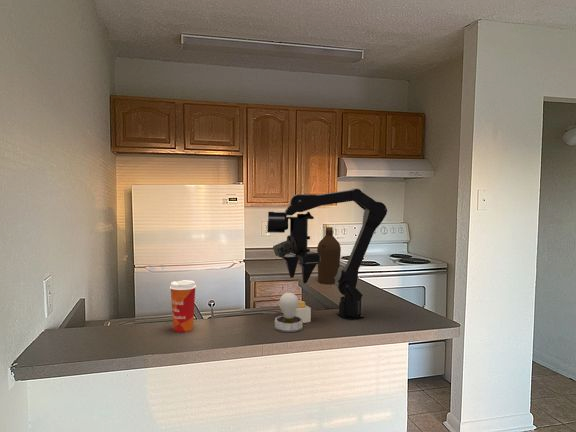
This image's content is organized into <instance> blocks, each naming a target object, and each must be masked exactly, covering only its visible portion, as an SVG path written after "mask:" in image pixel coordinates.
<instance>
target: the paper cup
mask: <svg viewBox="0 0 576 432" xmlns="http://www.w3.org/2000/svg"><path fill="white" fill-rule="evenodd" d="M196 288H197V284H196V282H195V281H194V280H190V279H189V280H188V279H183V280H176V281H175V280H174V281H171V282H170V286H169V289H170V298H171V300H170V301H171V314H172V316H171V317H172V327H173V328H172V329H173V331H174V332H175V333H188V332H190V331H191V332H192V331H193V328H194V318H195V316H194V315H195V303H196V302H195V299H196Z"/></svg>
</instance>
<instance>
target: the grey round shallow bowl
mask: <svg viewBox="0 0 576 432" xmlns="http://www.w3.org/2000/svg"><path fill="white" fill-rule="evenodd" d="M303 324H304V323H303V319H302V318H300V317H298V316H294V320H293V323H285V319H284V315H279V316H277V317H275V318H274V329H275V330H276V331H278V332H281V333H287V334H289V333H291V334H292V333H297V332H300V331H302V330H303V329H304V328H303V326H304V325H303Z"/></svg>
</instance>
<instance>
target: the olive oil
mask: <svg viewBox="0 0 576 432" xmlns="http://www.w3.org/2000/svg"><path fill="white" fill-rule="evenodd" d="M333 229H334V227H332V226H326V227H325V230H324V231H325V235H324V237H322V239H321V240H320V241H318V245H317V249H316V253H319V255H320V256H321V259H320V262H318V264H317V282H318V283H319V284H323V285H335V278H334V277H335V276H336V275H337V272H338V268H339V267H340V265H341V252H342V250H341V247H342V246H341V244H340V242H339V241H338V240H337V239H336V238H335V236H334V230H333ZM340 268H341V267H340Z"/></svg>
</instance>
